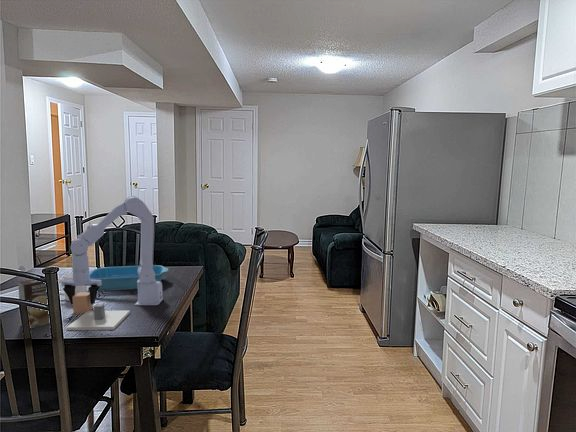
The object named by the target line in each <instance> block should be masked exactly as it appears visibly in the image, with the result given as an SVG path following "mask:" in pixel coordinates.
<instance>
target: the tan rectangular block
mask: <svg viewBox="0 0 576 432" xmlns="http://www.w3.org/2000/svg"><path fill="white" fill-rule="evenodd" d="M72 299H73V304H72V311H73V314H84V313H86V312H87V311H93V309H94V304H91V302H90V293H89V291H88V292H87V291H86V292H79V293H77V294H76V295H74V296H73V297H72Z"/></svg>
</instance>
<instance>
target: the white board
mask: <svg viewBox="0 0 576 432" xmlns="http://www.w3.org/2000/svg"><path fill="white" fill-rule="evenodd" d="M93 309H94V310H90V311H87V312H86V313H82V315H81V316H80V317H78V318H77V319H75V320H74V321H73V322H72V323H70V324H69V325H68V326H66V331H102V330H103V331H104V330H106V331H107V330H108V331H110V330H112V331H113V330H114V329H116V328H117V327H118V326H119V325H120V324H121V323H122V322H123V320H125V319H126V318H127V316H129V314H131V311H130V310H105V309H106V308H105V303H96V304H95V305H93Z"/></svg>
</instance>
